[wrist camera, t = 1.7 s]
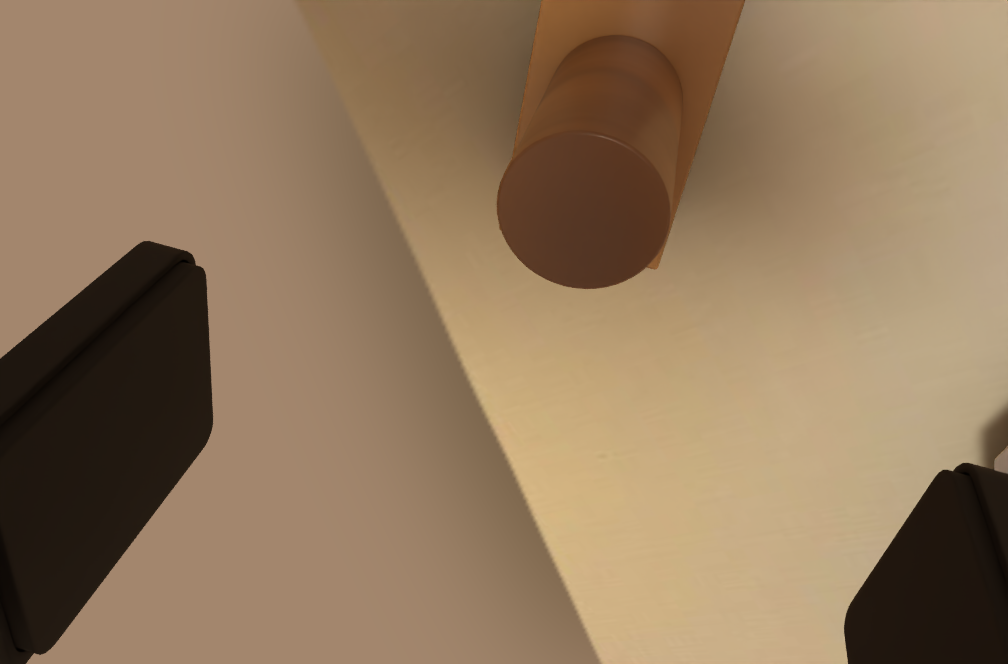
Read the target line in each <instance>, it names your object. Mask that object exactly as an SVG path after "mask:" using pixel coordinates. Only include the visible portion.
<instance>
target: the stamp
mask: <svg viewBox="0 0 1008 664" xmlns="http://www.w3.org/2000/svg"><path fill="white" fill-rule="evenodd" d="M744 3H745V0H542V1H541V6H540V11H539V17H538V22H537V28H536V33H535V38H534V44H533V49H532V54H531V60H530V65H529V70H528V76H527V81H526V86H525V92H524V97H523V102H522V108H521V113H520V118H519V124H518V129H517V134H516V140H515V145H514V151H513V156H512V159H511V161H510V163H509V165H508V167H507V169H506V171H505V173H504V175H503V178H502V180H501V182H500V186H499V190H498V196H497V215H498V220H499V228H500V230H501V231H502V234H503V236H504V238H505V240H506V242H507V244H508V245H509V247H510V248H511V250H512V252H513V253H514V254H515V255H516V256H517V258H518V259H519V260H520V261H521V262H522V263H523V264H524V265H525V266H526V267H528V268H529V269H530V270H532V271H533V272H534V273H536V274H538V275H539V276H541V277H543V278H545V279H547V280H549V281H551V282H554V283H557V284H560V285H563V286H567V287H572V288H581V289H596V288H603V287H608V286H612V285H616V284H619V283H621V282H624V281H626V280H628V279H630V278H632V277H633V276H635V275H637V274H638V273H640V272H641V271H642V270H644V269H645V268H646V267H647V268H651V269H657V268H658V266H659V263H660V260H661V257H662V254H663V251H664V248H665V245H666V242H667V239H668V235H669V232H670V229H671V226H672V223H673V220H674V217H675V214H676V211H677V208H678V205H679V202H680V199H681V196H682V193H683V189H684V186H685V183H686V180H687V177H688V174H689V171H690V168H691V165H692V162H693V159H694V156H695V153H696V150H697V147H698V144H699V140H700V137H701V134H702V131H703V128H704V125H705V122H706V119H707V116H708V113H709V110H710V107H711V104H712V101H713V98H714V94H715V91H716V88H717V85H718V82H719V79H720V76H721V73H722V70H723V67H724V64H725V61H726V58H727V55H728V52H729V48H730V45H731V42H732V39H733V36H734V33H735V30H736V27H737V24H738V21H739V18H740V15H741V12H742V9H743V6H744Z"/></svg>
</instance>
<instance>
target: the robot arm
mask: <svg viewBox="0 0 1008 664" xmlns="http://www.w3.org/2000/svg"><path fill="white" fill-rule="evenodd" d="M212 425H213V408H212V388H211V367H210V346H209V325H208V306H207V285H206V274H205V271H204V269H203V268H202V267H200V266H196V264H195V260H194V257H193V255H192V254H190V253H189V252H187V251H184V250H180V249H176V248H173V247H169V246H165V245H162V244H158V243H154V242H151V241H144V242H142V243H140V244H138V245H137V246H135V247H134V248H133V249H132V250H131V251H129V252H128V253H127V254H126V255H125V256H124V257H122V258H121V259H120V260H119V261H117V262H116V263H115V264H114V265H112V267H110V268H109V269H108V270H107V271H105V272H104V273H103V274H102V275H100V276H99V277H98V278H97V279H96V280H94V281H93V282H92V283H91V284H90V285H89V286H87V287H86V288H85V289H84V290H82V291H81V292H80V293H79V294H78V295H76V296H75V297H74V298H73V299H72V300H70V301H69V302H68V303H67V304H66V305H64V306H63V307H62V308H61V309H60V310H58V311H57V312H56V313H55V314H54V315H52V316H51V317H50V318H49V319H47V321H45V322H44V323H43V324H41V325H40V326H39V327H38V328H37V329H35V330H34V331H33V332H32V333H31V334H29V335H28V336H27V337H26V338H25V339H23V340H22V341H21V342H20V343H19V344H17V345H16V346H15V347H14V348H13V349H11V350H10V351H9V352H8V353H7V354H5V355H4V356H3V357H2V358H1V359H0V664H26V663H27V661H28V660H29V659H30V657H31V656H32V655H33V654H34V653H36V654H39V655H41V654H44V653H46V652H47V651H48V650H50V649H51V648H52V647H53V646H54V645H55V643H56V642H57V641H58V640H59V638H60V637H61V636H62V634H63V633H64V632H65V630H66V629H67V628H68V626H69V625H70V624H71V622H72V621H73V620H74V619H75V617H76V616H77V615H78V613H79V612H80V611H81V609H82V608H83V607H84V605H85V604H86V603H87V601H88V600H89V599H90V597H91V596H92V595H93V593H94V592H95V591H96V589H97V588H98V587H99V586H100V584H101V583H102V582H103V580H104V579H105V578H106V576H107V575H108V574H109V572H110V571H111V570H112V568H113V567H114V566H115V564H116V563H117V562H118V560H119V559H120V558H121V556H122V555H123V554H124V552H125V551H126V550H127V549H128V547H129V546H130V545H131V543H132V542H133V541H134V539H135V538H136V537H137V535H138V534H139V532H140V531H141V530H142V529H143V527H144V526H145V525H146V523H147V522H148V521H149V519H150V518H151V517H152V516H153V514H154V513H155V511H156V510H157V509H158V507H159V506H160V505H161V504H162V502H163V501H164V499H165V498H166V497H167V496H168V494H169V493H170V491H171V490H172V489H173V488H174V486H175V485H176V484H177V483H178V481H179V480H180V479H181V477H182V476H183V475H184V473H185V472H186V471H187V469H188V468H189V467H190V465H191V464H192V463H193V461H194V460H195V459H196V457H197V456H198V455H199V453H200V452H201V451H202V450H203V448H204V447H205V445H206V443H207V441H208V439H209V437H210V434H211V431H212ZM844 634H845V642H846V650H847V658H848V664H1008V474H1007V473H1003V472H1000V471H996V470H992V469H989V468H985V467H981V466H978V465H974V464H970V463H962V464H961V465H959V466H957V467H956V468H955V469H954V471H950V470H942V471H941V472H939V473H938V474H937V476H936V477H935V478H934V480H933V481H932V482H931V484H930V485H929V487H928V488H927V490H926V491H925V493H924V494H923V496H922V497H921V499H920V500H919V502H918V503H917V505H916V506H915V508H914V509H913V511H912V512H911V514H910V515H909V517H908V518H907V520H906V521H905V523H904V524H903V526H902V527H901V529H900V530H899V532H898V533H897V535H896V536H895V538H894V539H893V541H892V542H891V544H890V545H889V547H888V548H887V550H886V551H885V553H884V554H883V556H882V557H881V559H880V560H879V562H878V563H877V565H876V566H875V568H874V569H873V571H872V572H871V574H870V575H869V577H868V578H867V579H866V581H865V582H864V584H863V585H862V587H861V588H860V590H859V591H858V593H857V594H856V596H855V597H854V599H853V600H852V602H851V604H850V606H849V608H848V610H847V613H846V618H845V625H844Z"/></svg>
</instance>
